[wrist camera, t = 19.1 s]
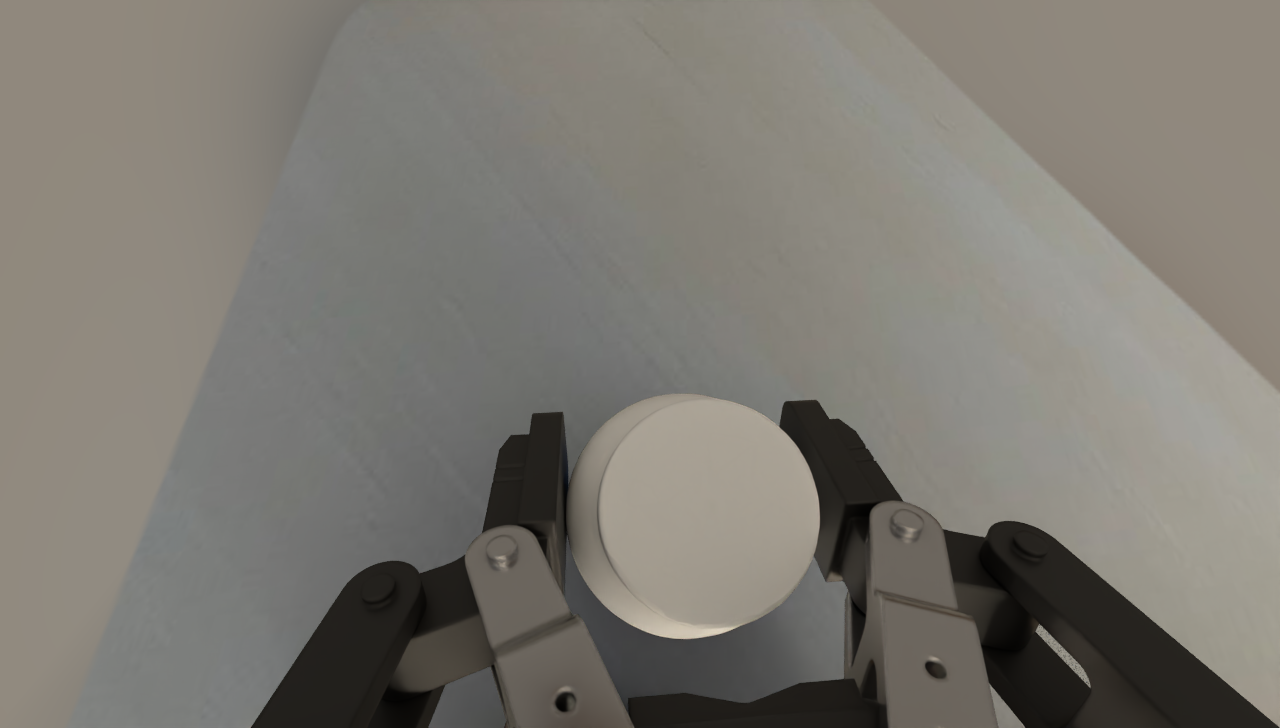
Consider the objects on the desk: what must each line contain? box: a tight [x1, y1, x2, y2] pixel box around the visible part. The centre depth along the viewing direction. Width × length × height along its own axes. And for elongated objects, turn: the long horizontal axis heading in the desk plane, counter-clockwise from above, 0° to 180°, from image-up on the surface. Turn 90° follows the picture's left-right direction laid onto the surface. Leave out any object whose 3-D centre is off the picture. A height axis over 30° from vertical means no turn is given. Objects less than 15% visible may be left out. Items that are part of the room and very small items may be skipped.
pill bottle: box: [566, 393, 820, 639], centre depth 14 cm, size 6×5×10 cm
